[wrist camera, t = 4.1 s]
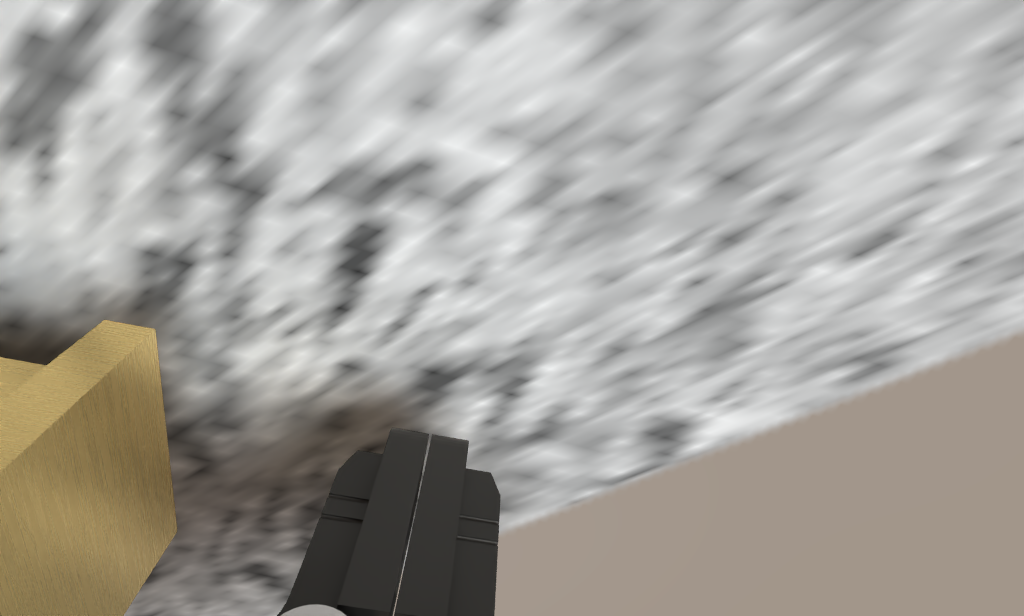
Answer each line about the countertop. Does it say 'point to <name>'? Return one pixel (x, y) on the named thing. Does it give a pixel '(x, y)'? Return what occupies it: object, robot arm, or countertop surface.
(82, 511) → the tan boxy piece
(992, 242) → the countertop surface
